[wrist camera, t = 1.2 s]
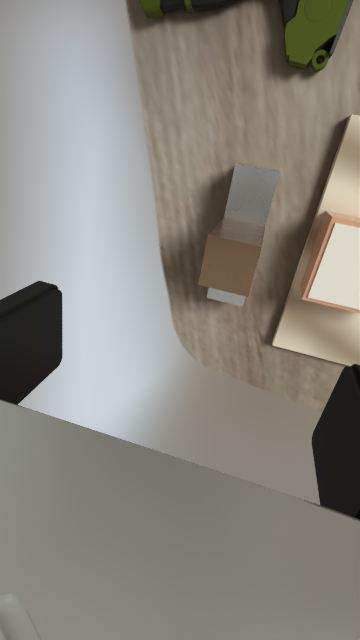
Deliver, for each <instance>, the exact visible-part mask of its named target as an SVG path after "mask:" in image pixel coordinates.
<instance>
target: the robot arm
mask: <svg viewBox="0 0 360 640" xmlns="http://www.w3.org/2000/svg"><path fill="white" fill-rule="evenodd" d="M61 360H62V293H61V291H60V290H58V287H57V286H56V285H53V284H49V283H46V282H42V281H38V282H36V283H34V284H31V285H29V286H27V287H25V288H23V289H21V290H19V291H17V292H16V293H13V294H11V295H9V296H7V297H5V298H3V299H2V300H0V640H360V365H358V364H353V365H352V366H351V367H347V366H346V367H345V368H344V369H343V371H342V373H341V375H340V377H339V379H338V381H337V383H336V385H335V387H334V390H333V392H332V394H331V396H330V398H329V400H328V402H327V404H326V406H325V409H324V411H323V413H322V415H321V417H320V419H319V421H318V423H317V426H316V428H315V430H314V432H313V436H312V448H313V455H314V462H315V469H316V476H317V484H318V491H319V498H320V505H318V504H315V503H312V502H309V501H306V500H303V499H300V498H297V497H294V496H292V495H289V494H285V493H282V492H279V491H277V490H274V489H271V488H268V487H265V486H262V485H259V484H256V483H253V482H250V481H247V480H244V479H241V478H238V477H235V476H232V475H228V474H226V473H222V472H219V471H217V470H214V469H211V468H208V467H204V466H201V465H198V464H195V463H192V462H189V461H186V460H183V459H180V458H177V457H174V456H171V455H168V454H165V453H161V452H159V451H156V450H153V449H150V448H147V447H144V446H140V445H138V444H134V443H131V442H128V441H125V440H122V439H119V438H116V437H113V436H110V435H107V434H104V433H101V432H98V431H95V430H92V429H89V428H86V427H83V426H80V425H77V424H74V423H71V422H68V421H64V420H61V419H58V418H55V417H52V416H49V415H46V414H43V413H40V412H37V411H34V410H31V409H28V408H25V407H22V406H19V405H18V403H20V402H21V401H22V400H23V399H24V398H25V397H26V396H27V395H28V394H29V393H30V392H31V391H32V390H33V389H35V388H36V387H37V386H38V385H39V384H40V383H41V382H42V381H43V380H44V379H45V378H46V377H47V376H48V375H49V374H50V373H52V372H53V371H54V370H55V369H56V368H57V367H58V366H59V364H60V362H61Z"/></svg>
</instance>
